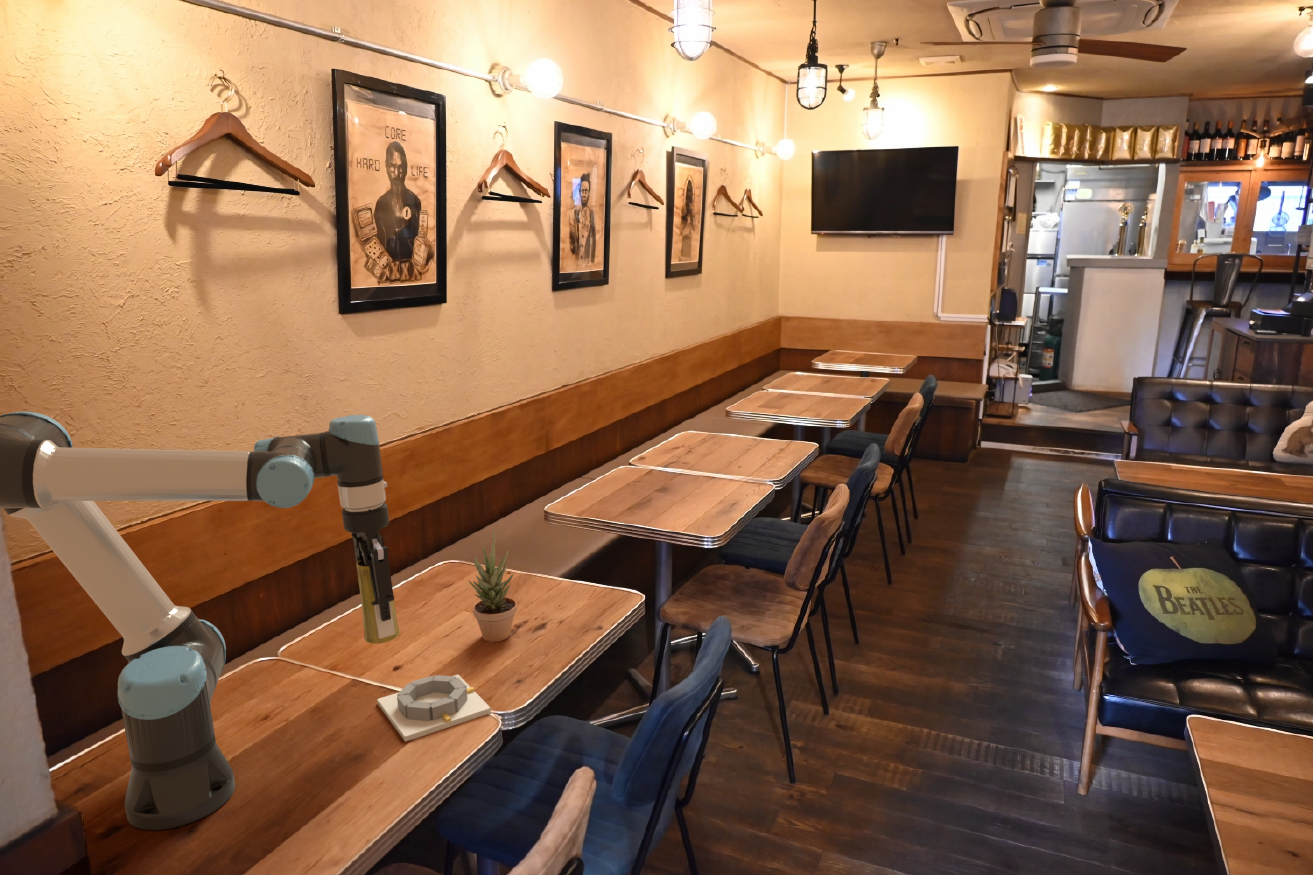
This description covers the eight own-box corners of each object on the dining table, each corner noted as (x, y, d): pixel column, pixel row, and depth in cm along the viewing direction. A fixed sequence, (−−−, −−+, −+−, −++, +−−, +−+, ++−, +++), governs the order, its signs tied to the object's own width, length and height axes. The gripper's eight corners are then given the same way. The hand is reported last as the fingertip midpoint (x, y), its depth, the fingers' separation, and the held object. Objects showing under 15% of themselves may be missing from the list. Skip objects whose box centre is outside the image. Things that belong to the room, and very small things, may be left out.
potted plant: (510, 646, 187) (503, 536, 182) (468, 644, 188) (459, 535, 183) (525, 626, 197) (518, 521, 191) (484, 624, 198) (476, 520, 193)
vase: (389, 644, 152) (378, 568, 149) (357, 643, 154) (346, 567, 150) (406, 629, 158) (396, 555, 155) (375, 628, 159) (365, 554, 156)
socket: (405, 741, 152) (403, 723, 151) (377, 703, 165) (375, 686, 164) (491, 712, 161) (489, 695, 160) (458, 678, 174) (457, 662, 173)
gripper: (402, 512, 145) (419, 641, 150) (370, 489, 160) (386, 607, 165) (356, 523, 141) (375, 654, 146) (328, 498, 156) (346, 618, 161)
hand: (381, 629), depth 156 cm, fingers closed on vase, 6 cm apart
